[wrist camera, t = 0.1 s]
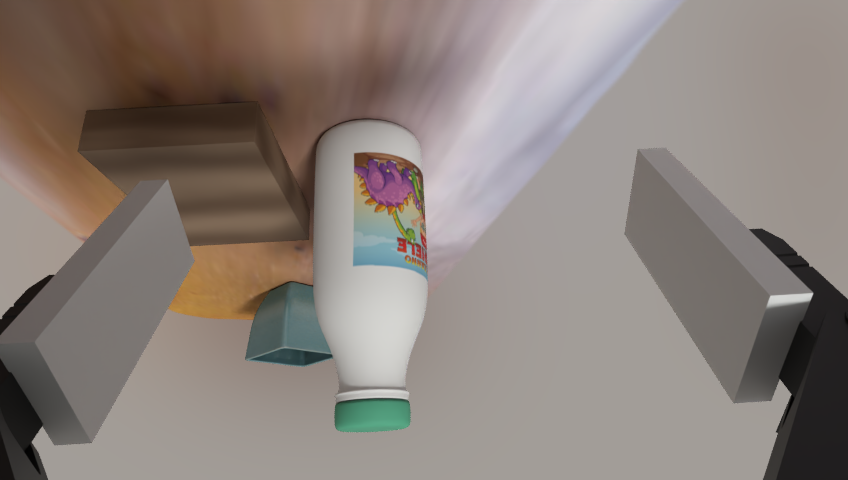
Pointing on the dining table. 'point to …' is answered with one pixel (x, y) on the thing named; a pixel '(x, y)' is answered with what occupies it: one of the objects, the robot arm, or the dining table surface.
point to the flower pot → (288, 329)
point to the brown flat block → (203, 168)
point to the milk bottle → (370, 267)
